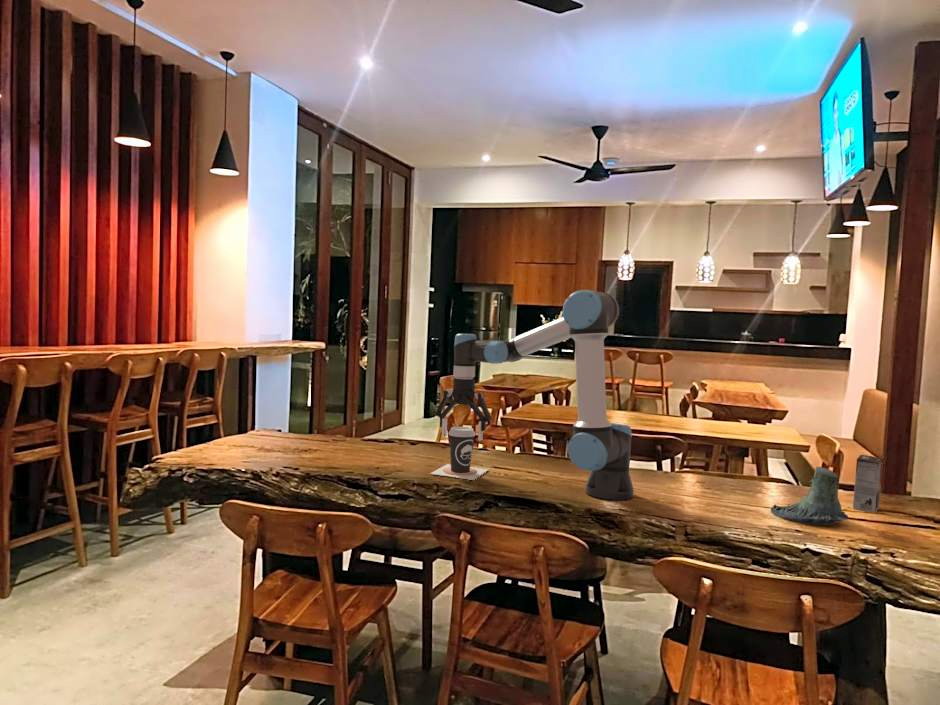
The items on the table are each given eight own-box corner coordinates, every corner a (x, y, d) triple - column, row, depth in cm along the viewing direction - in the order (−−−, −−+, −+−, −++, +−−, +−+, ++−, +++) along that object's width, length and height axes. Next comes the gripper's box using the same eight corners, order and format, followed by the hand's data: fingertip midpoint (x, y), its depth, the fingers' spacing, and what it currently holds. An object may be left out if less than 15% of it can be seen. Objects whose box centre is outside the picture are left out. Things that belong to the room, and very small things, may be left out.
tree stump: (788, 505, 203) (807, 454, 199) (851, 539, 187) (874, 484, 184) (757, 510, 192) (777, 456, 188) (823, 547, 176) (846, 488, 172)
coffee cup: (474, 468, 228) (476, 427, 227) (472, 475, 218) (474, 431, 217) (448, 466, 228) (450, 425, 228) (444, 473, 219) (446, 430, 218)
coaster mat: (488, 471, 228) (488, 468, 228) (473, 481, 213) (473, 478, 213) (447, 465, 234) (447, 463, 234) (429, 475, 219) (429, 472, 219)
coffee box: (856, 503, 207) (860, 454, 206) (879, 507, 203) (884, 457, 202) (851, 509, 200) (855, 458, 199) (875, 513, 196) (880, 462, 195)
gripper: (501, 379, 221) (499, 439, 222) (435, 375, 229) (433, 433, 230) (494, 381, 214) (492, 443, 215) (426, 376, 222) (425, 436, 223)
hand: (462, 438), depth 223 cm, fingers open, 13 cm apart
